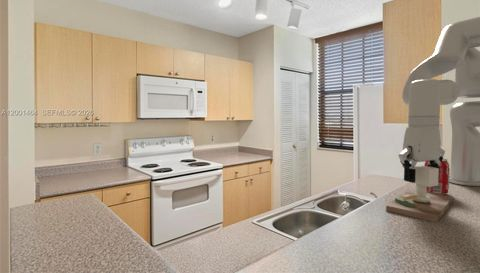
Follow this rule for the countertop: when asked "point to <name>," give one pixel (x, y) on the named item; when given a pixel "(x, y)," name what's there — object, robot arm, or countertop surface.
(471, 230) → the countertop surface
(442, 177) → the soda can
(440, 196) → the dial board
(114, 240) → the countertop surface
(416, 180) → the knob
